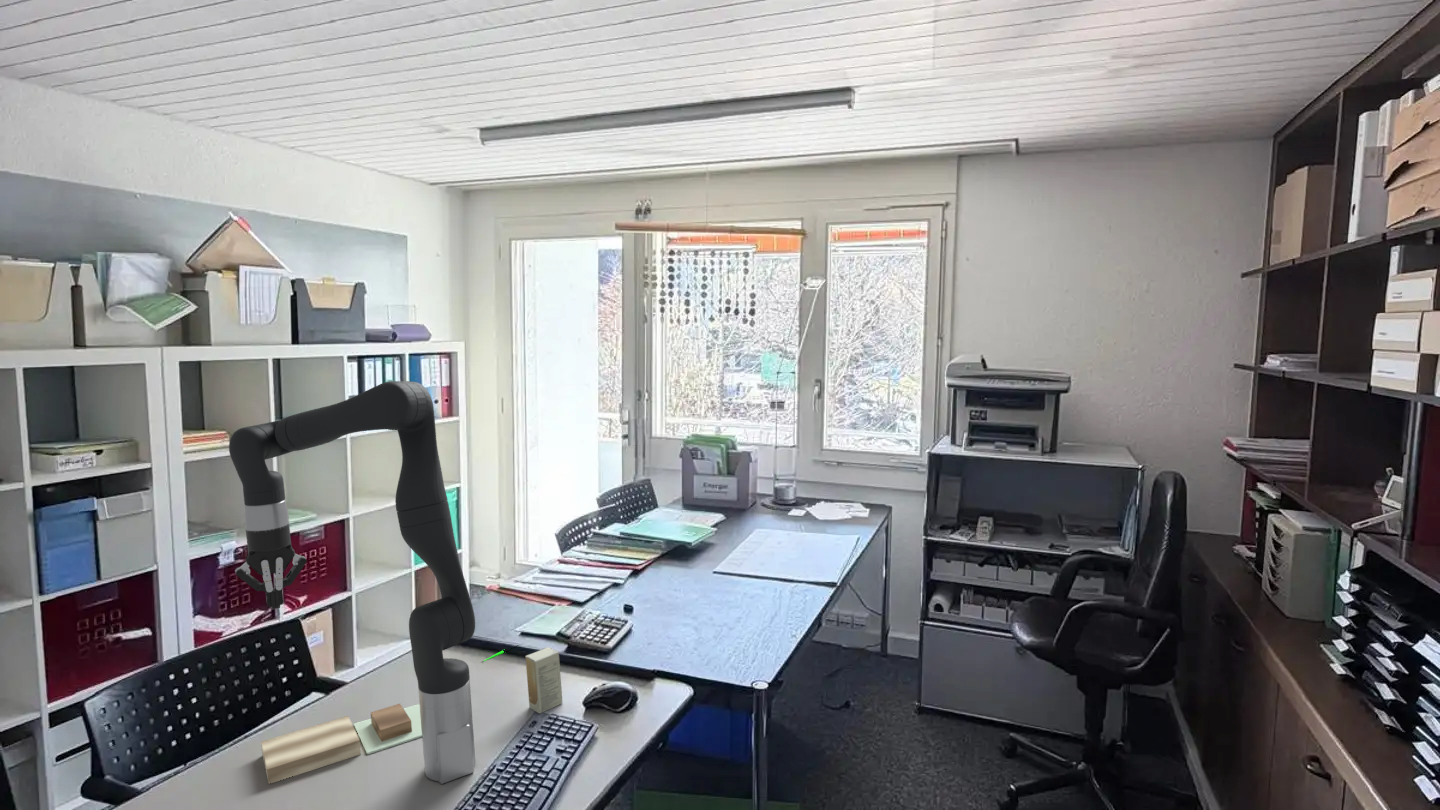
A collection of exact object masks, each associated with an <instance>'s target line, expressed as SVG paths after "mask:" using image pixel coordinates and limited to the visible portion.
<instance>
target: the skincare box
mask: <svg viewBox="0 0 1440 810" xmlns="http://www.w3.org/2000/svg"><path fill="white" fill-rule="evenodd" d="M559 653H560V652H559V651H558V650H556V649H553V648H552V647H549V646H547V647H544V648H542V649H540V650H537V651H534V652H532V653H529V654H527V655H525V665H526V666H525V667H526V668H525V669H526V680H527V691H528V704H529V708H530V709H531V710H533V711H534V712H536V713H538V714H541V713H544V712H547V711H548V710H552V709H553V708H554V707H557V706H559V705H561V704H563V691H562V690H563V689H562V679H561V666H560V664H561V663H560V654H559Z"/></svg>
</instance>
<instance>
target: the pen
mask: <svg viewBox="0 0 1440 810" xmlns="http://www.w3.org/2000/svg"><path fill="white" fill-rule="evenodd" d="M503 654H505V653H504V651H503V650H501V651H499V652H497V653H495V654H493V655H491V656H489V657H488V658H486V659H484V660H482V661H481V662H480V663H482V662H486V661H488V660H491V659H492V658H496V657H498V656H500V655H503ZM480 663H479V664H480Z"/></svg>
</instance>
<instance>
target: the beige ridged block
mask: <svg viewBox="0 0 1440 810" xmlns="http://www.w3.org/2000/svg"><path fill="white" fill-rule="evenodd" d="M260 747H261V753H262V754H261V756H262V755H263V756H262V759H263V765H264V768H265V769H266V770H265V769H264V770H265V774H266V778H267V784H268V785H270V783H271V784H274V783H277V782H280V780H281V781H283V779H284V780H287V779H289V777H290V778H292V776H293V777H296V776H299V775H301V774H305V773H308V772H310V771H314V770H317V769H319V768H320V769H321V768H323V767H326V766H330V765H331V764H336V763H338V762H341V761H345V760H347V759H351V758H353V757H354V758H355V757H358V756H360V755H361V754H362V753H361V751H362V750H361V740H360V738H359V736H358V734H357V732H356V729H355V727H354V724H353V723H352V720H351V719H350V717H349V715H346V716H342V717H340V718H336V719H332V720H329V721H326V722H322V723H320V724H316V725H312V726H309V727H306V728H302V729H299V730H296V731H292V732H288V733H286V734H281V735H279V736H278V735H277V736H275V737H272V738H268V739H264V740H262V741H260ZM286 778H287V779H286Z"/></svg>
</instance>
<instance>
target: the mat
mask: <svg viewBox="0 0 1440 810" xmlns="http://www.w3.org/2000/svg"><path fill="white" fill-rule="evenodd" d="M403 709H404V710H405V712H406V713H407V715H408V716H409V718H410V719H411V725H412V732H409V733H406V734H403V735H400V736H397V737H394V738H391V739H388V740H385V741H382V742H381V740H380V738H379V736H378V734H377V732H376V731H375V729H374V727H373V725H372V723H371V718H368V719H365V720H362V721H359V722H355V723H353V727H354V729H355V731H357V732H356V733H358V734H357V736H358V738H359V740H360V743H361V744H362V747H363V749H364V751H365V753H366V755H371V754H373V753H377V752H380V751H382V750H386V749H388V748H392V747H396V746H399V745H401V744H404V743H407V742H410V741H413V740H416V739H417V740H418V739H420V738H422V728H421V716H420V703H417V704H414V705H410V706H407V707H404V708H403Z"/></svg>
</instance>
